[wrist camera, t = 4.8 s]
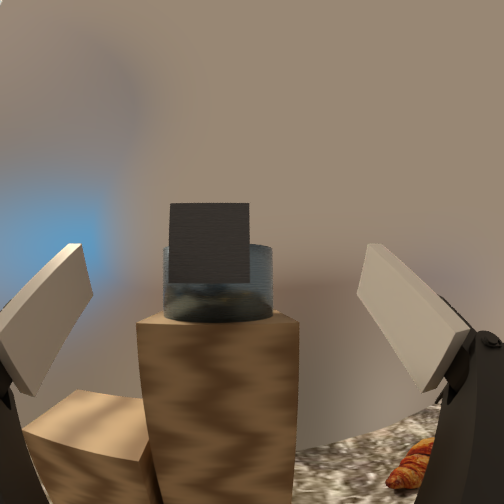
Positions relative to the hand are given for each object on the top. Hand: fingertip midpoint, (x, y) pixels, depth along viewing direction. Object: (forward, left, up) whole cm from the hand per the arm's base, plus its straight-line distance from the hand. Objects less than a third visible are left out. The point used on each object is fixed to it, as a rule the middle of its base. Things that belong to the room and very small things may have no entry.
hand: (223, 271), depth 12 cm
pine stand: (-7, +14, -33) cm, 37 cm away
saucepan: (-1, +9, -3) cm, 9 cm away
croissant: (+32, +16, -34) cm, 50 cm away
